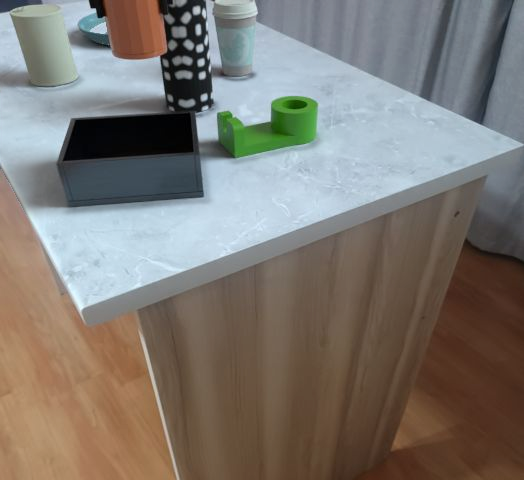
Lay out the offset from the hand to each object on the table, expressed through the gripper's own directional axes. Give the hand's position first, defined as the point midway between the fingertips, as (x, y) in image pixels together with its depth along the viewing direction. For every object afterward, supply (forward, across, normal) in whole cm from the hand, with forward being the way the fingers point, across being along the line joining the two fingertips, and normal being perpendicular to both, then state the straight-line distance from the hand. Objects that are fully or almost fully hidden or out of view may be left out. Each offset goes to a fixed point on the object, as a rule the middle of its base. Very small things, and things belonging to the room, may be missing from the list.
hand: (133, 12), depth 61 cm
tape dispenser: (+19, -17, -6) cm, 26 cm away
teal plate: (+19, +6, -70) cm, 73 cm away
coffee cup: (+19, -16, -39) cm, 46 cm away
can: (+19, +20, -41) cm, 50 cm away
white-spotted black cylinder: (+19, -5, -23) cm, 30 cm away
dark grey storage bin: (+19, +3, +3) cm, 19 cm away
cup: (+4, 0, 0) cm, 4 cm away
